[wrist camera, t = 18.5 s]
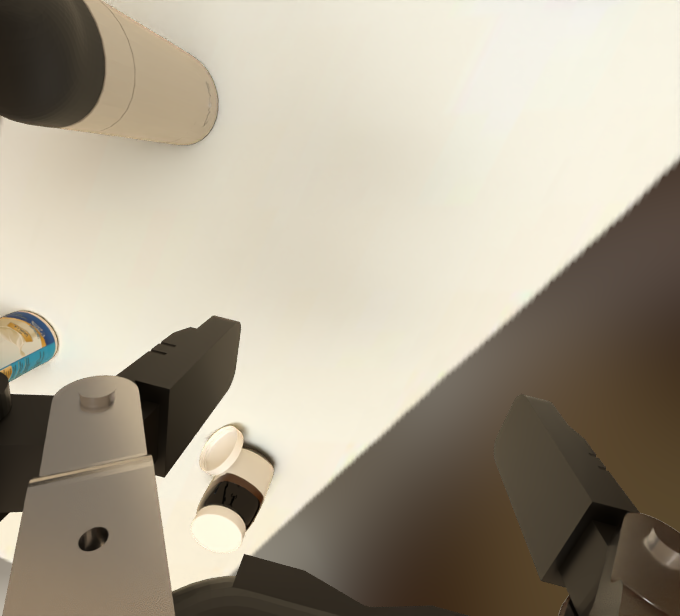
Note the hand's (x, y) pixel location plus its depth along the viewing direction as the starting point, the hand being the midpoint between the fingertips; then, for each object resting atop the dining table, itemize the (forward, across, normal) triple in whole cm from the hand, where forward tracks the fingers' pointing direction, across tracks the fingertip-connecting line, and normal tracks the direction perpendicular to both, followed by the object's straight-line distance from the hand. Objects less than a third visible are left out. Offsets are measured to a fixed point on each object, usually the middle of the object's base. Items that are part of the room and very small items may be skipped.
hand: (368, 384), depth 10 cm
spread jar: (+34, +12, +39) cm, 53 cm away
